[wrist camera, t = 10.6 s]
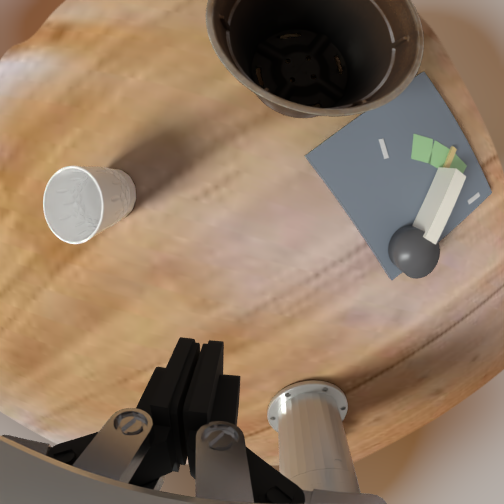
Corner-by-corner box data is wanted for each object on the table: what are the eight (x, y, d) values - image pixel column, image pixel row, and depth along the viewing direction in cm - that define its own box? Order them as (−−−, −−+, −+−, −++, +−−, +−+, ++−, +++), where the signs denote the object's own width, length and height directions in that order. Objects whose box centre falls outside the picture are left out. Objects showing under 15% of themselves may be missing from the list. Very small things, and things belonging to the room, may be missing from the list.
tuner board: (487, 191, 35) (492, 192, 34) (389, 277, 39) (392, 280, 38) (420, 73, 31) (424, 71, 30) (304, 156, 35) (305, 155, 34)
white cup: (98, 155, 36) (53, 156, 26) (149, 176, 36) (113, 181, 27) (81, 211, 38) (37, 227, 28) (129, 234, 38) (92, 256, 29)
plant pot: (259, 156, 35) (257, 149, 20) (209, 40, 32) (176, -28, 16) (384, 113, 33) (455, 88, 18) (330, 4, 30) (363, -68, 14)
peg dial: (413, 275, 37) (427, 287, 33) (380, 258, 37) (392, 268, 33) (467, 159, 33) (485, 160, 29) (437, 135, 32) (454, 134, 28)
